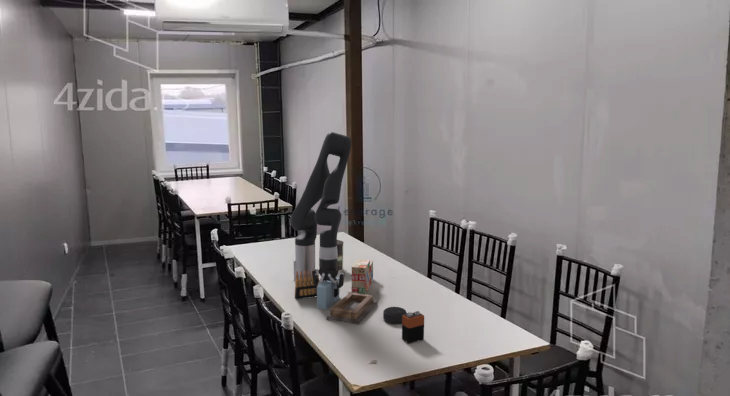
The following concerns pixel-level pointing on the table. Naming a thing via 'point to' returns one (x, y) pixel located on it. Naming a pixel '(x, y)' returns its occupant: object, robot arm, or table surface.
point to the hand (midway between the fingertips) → (328, 295)
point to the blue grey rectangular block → (326, 294)
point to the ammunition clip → (305, 286)
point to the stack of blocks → (361, 276)
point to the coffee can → (340, 255)
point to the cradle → (352, 308)
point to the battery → (413, 327)
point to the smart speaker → (394, 315)
